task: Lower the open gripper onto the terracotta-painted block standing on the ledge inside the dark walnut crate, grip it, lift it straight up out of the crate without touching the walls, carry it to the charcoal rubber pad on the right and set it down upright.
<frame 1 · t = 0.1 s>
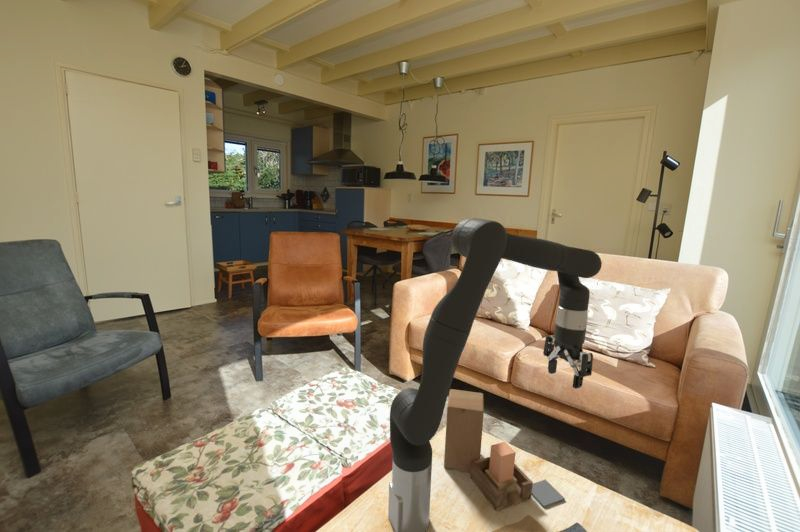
hand: (563, 380, 103), 29 cm above the table, fingers open, 8 cm apart
crate: (499, 487, 103), on the table
wooden block: (461, 460, 113), on the table
block: (500, 475, 102), point 4 cm above the table, touching crate
pad: (544, 494, 101), on the table
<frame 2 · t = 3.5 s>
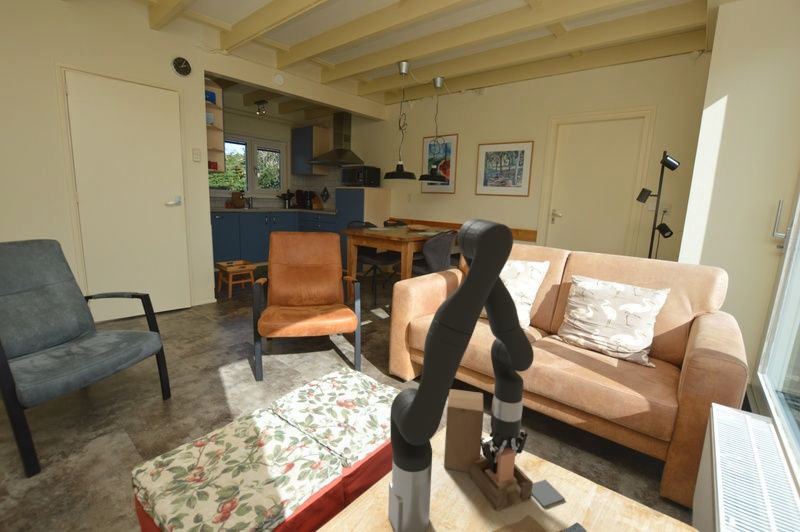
hand: (501, 469, 102), 6 cm above the table, fingers closed on block, 4 cm apart
block: (500, 475, 102), point 4 cm above the table, touching crate, gripper
everything else where it was.
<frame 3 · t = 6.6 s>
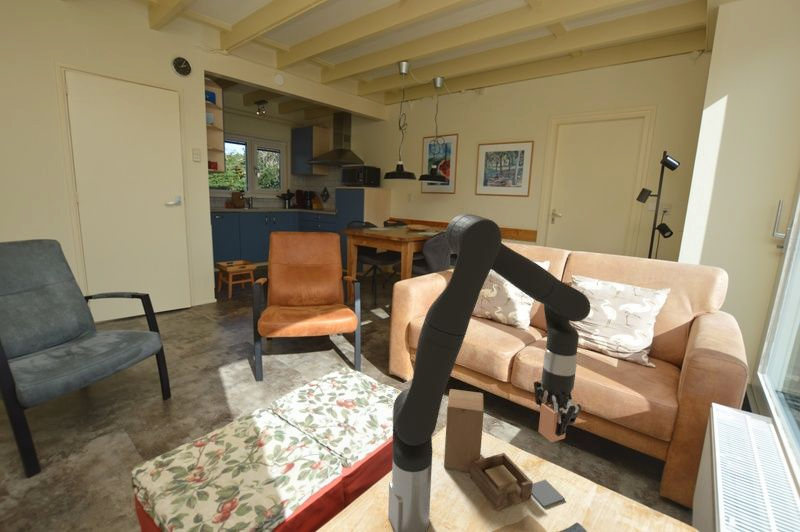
hand: (552, 428, 97), 20 cm above the table, fingers closed on block, 4 cm apart
block: (551, 435, 97), point 18 cm above the table, touching gripper
everything else where it was.
when the fingers open (4 cm above the table, at t = 9.7 s): block drops 1 cm, resting on pad.
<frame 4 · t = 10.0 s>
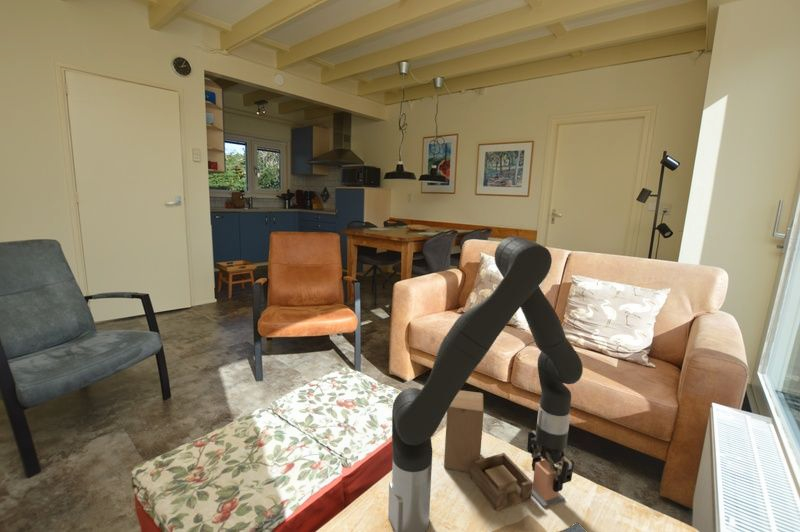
hand: (546, 480, 100), 4 cm above the table, fingers open, 7 cm apart
block: (545, 492, 101), point 1 cm above the table, touching pad
everything else where it was.
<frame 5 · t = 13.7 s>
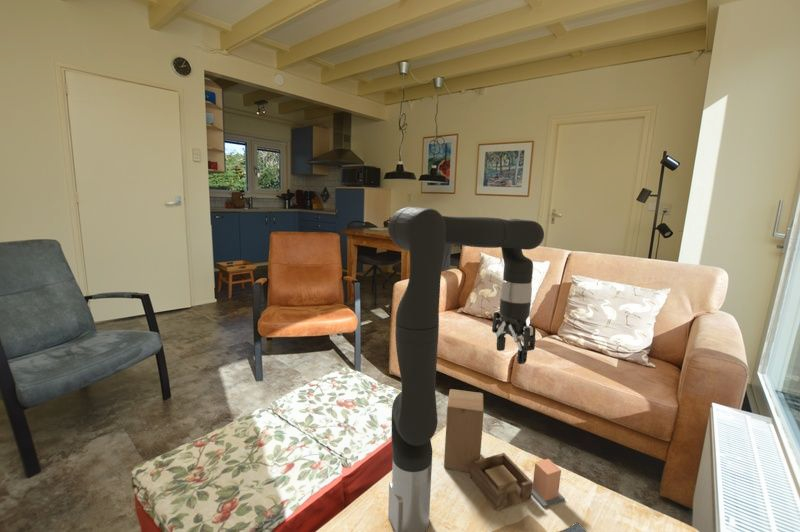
hand: (510, 356, 100), 36 cm above the table, fingers open, 8 cm apart
nothing on the table moved.
at the end: block inside the target area on the pad (0.2 cm from its centre), point 0.6 cm above the pad's base; block tilted 0°; block touching pad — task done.
